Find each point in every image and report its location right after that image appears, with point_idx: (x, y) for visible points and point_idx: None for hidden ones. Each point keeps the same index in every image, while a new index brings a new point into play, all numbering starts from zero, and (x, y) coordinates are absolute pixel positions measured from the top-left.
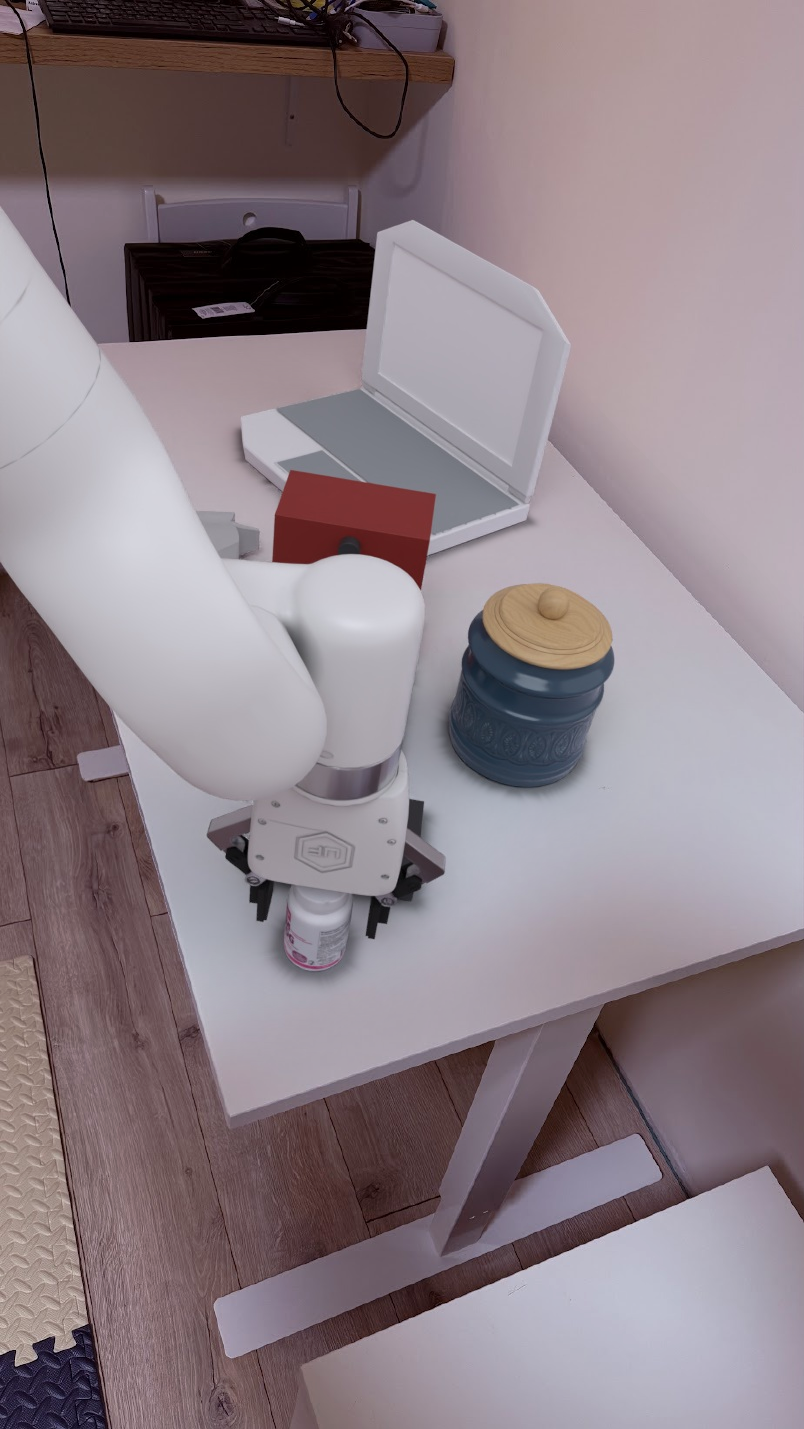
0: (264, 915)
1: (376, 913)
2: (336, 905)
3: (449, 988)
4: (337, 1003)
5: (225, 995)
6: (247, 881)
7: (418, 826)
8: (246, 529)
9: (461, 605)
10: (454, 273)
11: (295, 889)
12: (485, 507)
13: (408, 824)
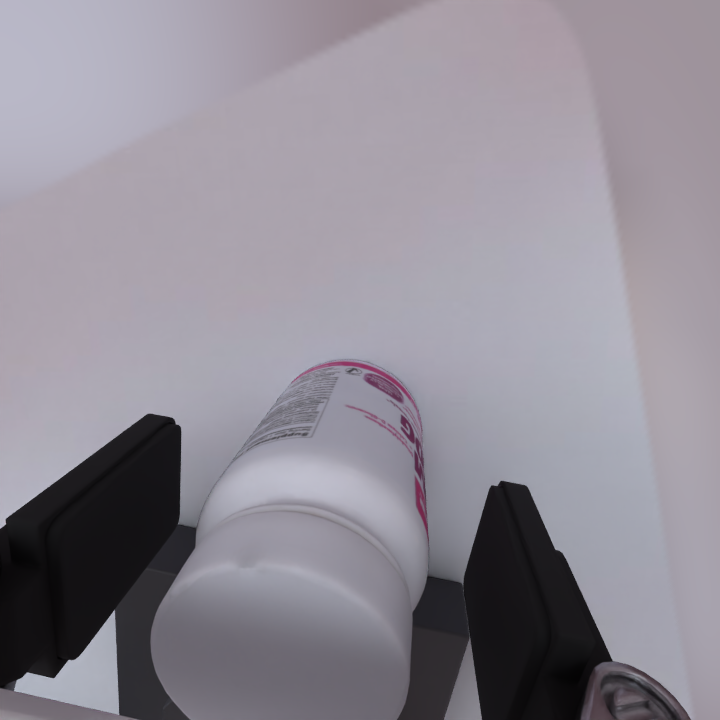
0: (506, 503)
1: (52, 497)
2: (217, 541)
3: (47, 316)
4: (292, 276)
5: (569, 296)
6: (660, 695)
7: (123, 688)
8: None
9: None
10: None
11: (404, 627)
12: None
13: (144, 694)
